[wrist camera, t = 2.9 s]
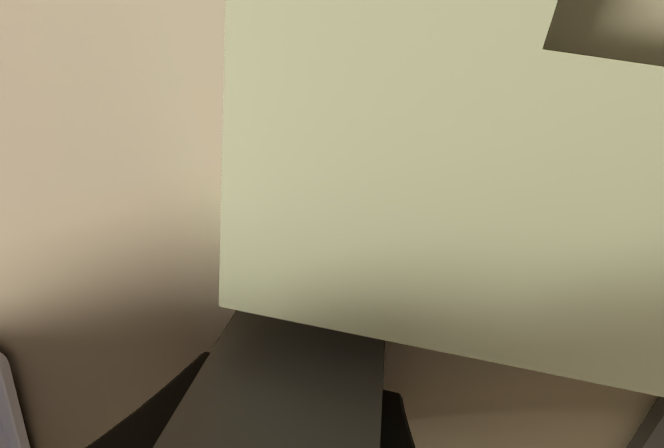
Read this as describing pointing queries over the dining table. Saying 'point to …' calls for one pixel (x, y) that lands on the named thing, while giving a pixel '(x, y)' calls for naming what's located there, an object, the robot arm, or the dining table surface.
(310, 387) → the charger
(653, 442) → the phone
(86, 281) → the dining table surface
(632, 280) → the outlet board
